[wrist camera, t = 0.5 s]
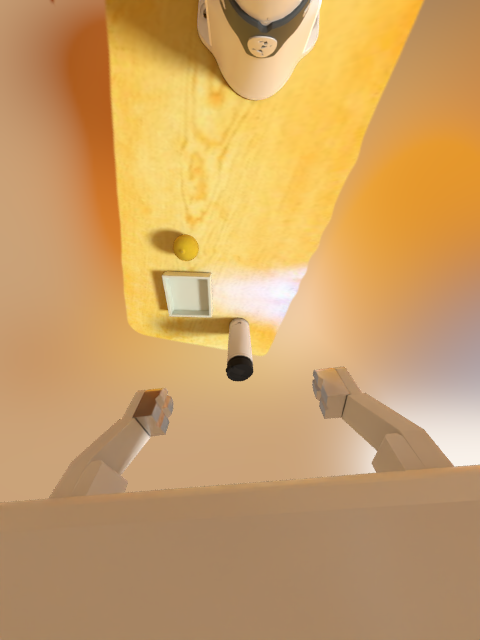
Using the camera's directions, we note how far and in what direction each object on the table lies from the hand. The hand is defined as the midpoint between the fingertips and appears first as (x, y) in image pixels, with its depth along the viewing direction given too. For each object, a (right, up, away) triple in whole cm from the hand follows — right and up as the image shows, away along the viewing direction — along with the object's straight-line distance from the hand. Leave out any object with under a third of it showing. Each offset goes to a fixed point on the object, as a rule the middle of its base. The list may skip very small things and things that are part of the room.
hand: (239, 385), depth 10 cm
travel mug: (0, +2, +50) cm, 50 cm away
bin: (-14, +11, +43) cm, 47 cm away
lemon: (-12, +23, +36) cm, 44 cm away
